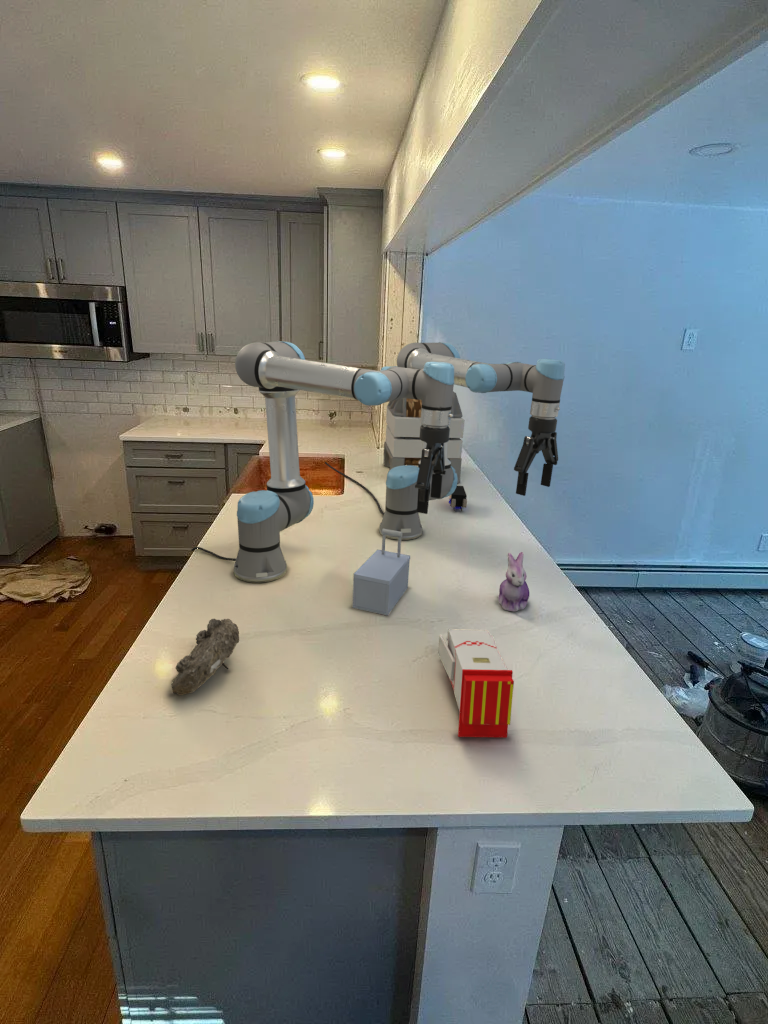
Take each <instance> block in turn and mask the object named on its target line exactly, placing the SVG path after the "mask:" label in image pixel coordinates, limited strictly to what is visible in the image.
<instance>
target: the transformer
mask: <svg viewBox="0 0 768 1024" xmlns="http://www.w3.org/2000/svg"><path fill="white" fill-rule="evenodd" d="M387 403H388V404H387V405H386V413H385V414H386V415H385V423H386V428H385V438H384V442H383V466H384V467H388V468H389V471H390V470H391V469H392V468H394V467H397V466H403V465H405V466H407V465H413V466H417V467H418V462H419V461H420V460H421V456H422V449H423V441H421V440H420V438H419V437H420V426H421V425H423V424H421V423H420V420H421V408H422V400H416V399H407V398H400V399H397V400H393V401H389V402H387ZM451 414H453V417H452V418H451V419H450V425H448V427H449V428H450V433H449V441H448V442H447V459H448V460H449V461H450V462H451V466H452V467H453V468H454V469H455V473H456V474H457V484H459V483H461V472H462V461H463V460H462V453H463V442H464V441H463V440H462V439H463V438H464V431H465V430H464V429H465V419H464V418H463V411H462V408H461V405H460V402H459V398H458V395H457V392H455V391H454V390H453V397H452V408H451Z"/></svg>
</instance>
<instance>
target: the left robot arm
mask: <svg viewBox="0 0 768 1024" xmlns="http://www.w3.org/2000/svg"><path fill="white" fill-rule="evenodd" d="M234 367H235V371H236V374H237V377H239V379H240V380H241V381H242V382H243V383H244V384H246V385H247V386H250V387H252V388H253V387H254V388H258V392H259V393H260V394H261V395H262V396H263V398H264V402H265V403H264V405H265V416H266V417H265V418H266V428H267V439H268V453H269V455H268V456H269V467H270V478H269V480H267V482H266V490H265V489H263V490H262V489H261V490H257V491H250V492H247V493H245V494H243V495H242V496H241V497H240V498H239V500H238V501H237V507H236V509H237V510H236V518H237V534H238V535H237V536H238V551H237V554H236V557H226V556H222V555H219V554H218V553H215V552H213V551H210V550H209V549H205V548H203V547H202V546H201V547H200V546H194V547H192V548H191V549H190V551H191V552H194V551H195V550H199V551H202V552H204V553H207V554H209V555H211V556H213V557H216V558H218V559H219V560H224V561H232V562H234V564H233V575H234V577H235V578H237V579H238V580H240V581H242V582H246V583H253V584H254V583H255V584H258V583H259V584H261V583H268V582H274V581H276V580H279V579H281V578H282V577H284V576H285V575H286V574H287V572H288V569H287V568H288V565H287V561H286V559H285V556H284V553H283V550H282V548H281V532H282V531H284V530H286V529H288V528H290V527H292V526H294V525H297V524H299V523H301V522H303V521H304V520H305V519H307V518H308V517H309V516H310V515H311V513H312V512H313V509H314V505H315V504H314V502H315V501H314V495H313V492H312V491H311V490H310V488H309V487H308V485H306V480H305V478H303V477H302V476H301V472H300V471H301V470H300V456H299V440H298V439H299V437H298V436H299V435H298V423H297V421H298V419H297V407H296V406H297V405H296V397H297V396H296V395H298V393H299V392H300V391H303V392H308V393H315V394H321V395H326V396H332V397H337V398H344V399H349V400H355V401H359V402H360V403H361V404H362V405H365V406H368V407H369V406H370V407H371V406H375V407H377V406H380V405H383V404H385V403H389V401H393V400H397V399H400V398H407V399H416V400H422V408H421V420H420V423H421V424H423V425H421V426H420V437H419V438H420V440H421V441H423V442H426V443H427V445H426V448H425V449H422V456H421V462H420V468H419V473H418V478H417V484H416V485H415V488H418V501H417V512H418V514H426V515H427V514H429V490H430V489H428V488H429V483H430V479H431V475H432V484H431V497H433V498H441V487H442V475H441V474H444V475H445V474H446V471H444V470H445V458H444V443H446V442H448V441H449V433H450V428H449V427H448V425H450V419H451V418H452V417H453V414H451V408H452V397H453V391H454V386H455V385H454V366H453V365H452V364H450V363H445V362H427V363H425V365H424V368H423V369H411V368H402V367H397V365H392V366H383V367H381V369H380V370H374V369H368V368H361V367H355V366H347V365H340V364H334V363H329V362H323V361H315V360H308V359H306V357H305V355H304V353H303V351H302V350H301V349H300V348H299V347H298V346H297V345H296V344H294V343H292V342H290V341H280V340H277V341H276V340H274V341H264V342H258V341H257V342H256V341H255V342H251V343H248V344H245V345H244V346H243V347H242V348H240V350H238V352H237V354H236V356H235V362H234ZM432 471H433V472H434V473H435V474H432ZM422 483H424V484H422ZM197 548H198V549H197Z"/></svg>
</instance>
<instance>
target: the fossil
mask: <svg viewBox="0 0 768 1024" xmlns="http://www.w3.org/2000/svg"><path fill="white" fill-rule="evenodd" d="M206 626H207V627H206V629H203V630H200V631H199V632H197V634H196V637H195V644H196V645H195V646H194V648H193V650H192V651H191V653H190V655H185V656H184V657H183V658H181V659H180V660H179V661H178V662H177V664H176V666H175V670H176V672H177V675H176V676H175V677H174V678H173V679H172V680H171V682H172V683H171V690H172V691H171V692H172V693H174V694H177V695H179V696H184V695H186V694H193V693H194V692H195V691H197V690H198V688H200V687H201V686H203V685H204V684H205V683H206V682H207V681H208V680H209V679H210V678H211V677H212V676H213V675H215V674H216V672H217V670H218V669H219V668H220V667H221V666H223V668H224V669H225V670H227V671H228V670H229V669H230V668H229V666H227V664H225V660H226V659H227V658H230V656H231V655H232V654H233V652H234V649H235V647H236V646H237V644H238V643H239V642H240V631H239V626H238V625H237V624H236V623H235V622H233V620H231V619H230V618H223V619H221V620H220V619H216V618H211V619H209V620H208V623H207V625H206Z"/></svg>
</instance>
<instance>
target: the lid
mask: <svg viewBox="0 0 768 1024" xmlns="http://www.w3.org/2000/svg"><path fill="white" fill-rule="evenodd" d="M382 534H383V535H381V536H382V538H381V549H376V550H375V551H374V552H373V553H372V554H371V555H370V557H368V558H367V559H366V561H365V562H364V563H362V564H361V565H360V567H359V568H357V569H356V570H355V571H354V573H353V575H352V576H353V577H352V579H353V578H358V579H363V580H368V581H372V582H377V583H382V584H387V585H390V583H391V582H392V581H393V580H394V578H395V577H396V576H397V575H398V573H399V572H400V571H401V570H402V568H403V567H404V566H405V565H406V563H407V562H408V561H409V560H411V555H410V554H404V553H402V552H401V550H402V540H401V537H402V532H400V531H394V530H388V529H382ZM386 535H391V536H396V537H398V540H397V552H394V551H389V550H386V538H387V537H386Z"/></svg>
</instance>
